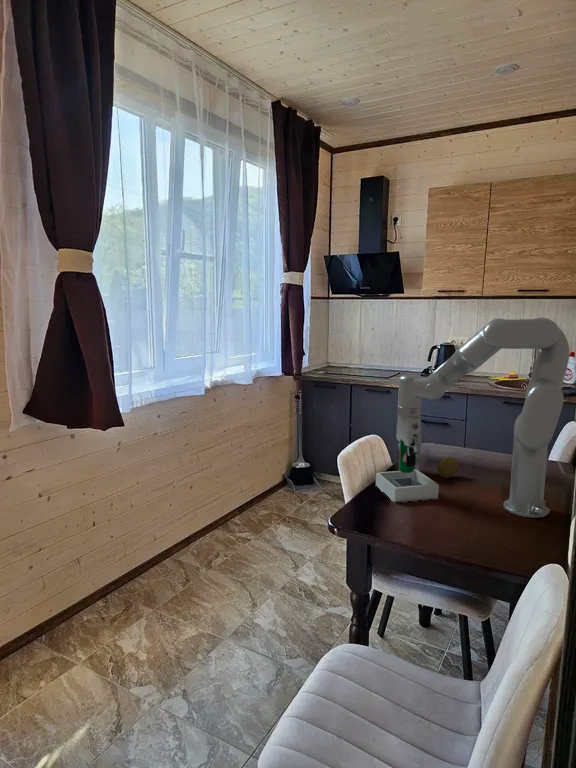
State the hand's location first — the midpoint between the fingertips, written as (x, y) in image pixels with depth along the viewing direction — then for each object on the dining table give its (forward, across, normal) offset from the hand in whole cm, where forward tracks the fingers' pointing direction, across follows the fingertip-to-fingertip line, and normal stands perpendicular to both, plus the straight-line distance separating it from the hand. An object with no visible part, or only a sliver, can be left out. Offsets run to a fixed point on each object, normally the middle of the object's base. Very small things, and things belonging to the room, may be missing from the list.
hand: (406, 462), depth 167 cm
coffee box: (+11, +17, -10) cm, 23 cm away
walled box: (+11, 0, 0) cm, 11 cm away
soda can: (+3, 0, 0) cm, 3 cm away
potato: (+11, +10, -22) cm, 27 cm away
